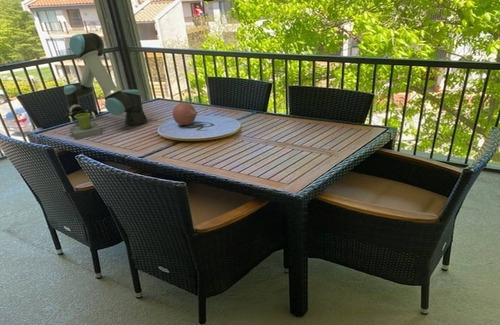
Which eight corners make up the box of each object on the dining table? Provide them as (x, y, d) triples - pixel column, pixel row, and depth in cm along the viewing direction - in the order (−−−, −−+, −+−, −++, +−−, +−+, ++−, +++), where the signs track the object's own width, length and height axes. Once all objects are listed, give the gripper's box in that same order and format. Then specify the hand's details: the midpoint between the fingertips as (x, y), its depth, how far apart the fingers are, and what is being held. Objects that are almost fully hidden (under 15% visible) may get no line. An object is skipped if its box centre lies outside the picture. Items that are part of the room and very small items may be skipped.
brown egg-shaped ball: (187, 131, 225) (185, 108, 218) (169, 126, 237) (166, 103, 231) (206, 125, 235) (204, 103, 228) (187, 120, 247) (185, 98, 241)
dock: (96, 128, 238) (95, 123, 236) (101, 134, 227) (100, 128, 226) (71, 134, 230) (69, 128, 229) (75, 139, 220) (73, 133, 218)
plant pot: (87, 130, 223) (84, 117, 219) (74, 130, 225) (71, 117, 221) (96, 125, 231) (93, 113, 227) (83, 125, 233) (80, 112, 229)
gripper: (97, 113, 246) (104, 120, 229) (58, 120, 233) (63, 128, 217) (95, 102, 242) (102, 108, 226) (55, 109, 230) (60, 116, 214)
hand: (83, 118), depth 222 cm, fingers open, 13 cm apart
